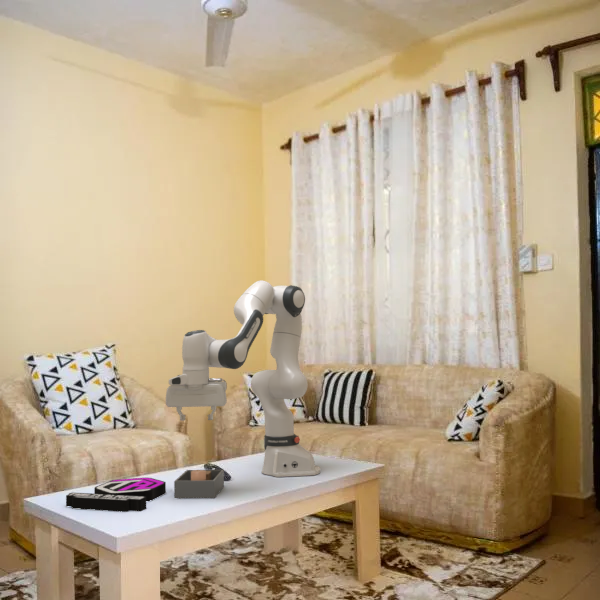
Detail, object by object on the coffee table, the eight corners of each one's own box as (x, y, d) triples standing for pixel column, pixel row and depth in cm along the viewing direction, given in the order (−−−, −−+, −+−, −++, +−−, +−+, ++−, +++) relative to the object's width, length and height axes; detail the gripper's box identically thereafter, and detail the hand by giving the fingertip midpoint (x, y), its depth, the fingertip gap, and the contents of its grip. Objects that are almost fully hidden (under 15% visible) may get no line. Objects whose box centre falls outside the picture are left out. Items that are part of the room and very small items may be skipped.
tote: (223, 485, 225) (223, 469, 225) (214, 498, 208) (214, 480, 208) (186, 486, 226) (186, 469, 226) (174, 498, 209) (174, 481, 209)
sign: (138, 514, 193) (182, 490, 222) (138, 501, 193) (182, 479, 222) (60, 509, 200) (113, 486, 229) (60, 496, 200) (113, 476, 229)
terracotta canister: (203, 494, 210) (203, 473, 211) (188, 494, 211) (189, 472, 211) (207, 491, 215) (207, 470, 216) (192, 490, 216) (193, 469, 216)
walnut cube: (211, 485, 223) (211, 471, 224) (208, 488, 218) (208, 474, 219) (197, 485, 224) (197, 471, 224) (193, 489, 219) (193, 474, 219)
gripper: (228, 377, 218) (229, 418, 217) (168, 378, 219) (169, 419, 218) (224, 378, 211) (225, 420, 211) (163, 379, 213) (164, 421, 212)
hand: (196, 420), depth 214 cm, fingers open, 8 cm apart
